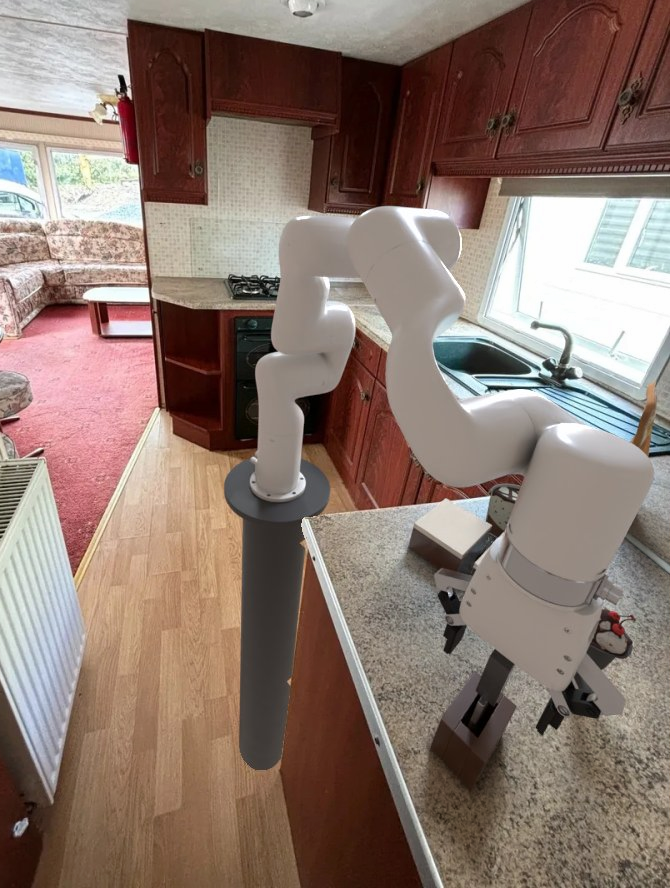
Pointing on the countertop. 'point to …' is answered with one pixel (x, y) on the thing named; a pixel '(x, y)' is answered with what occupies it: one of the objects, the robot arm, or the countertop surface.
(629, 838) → the countertop surface
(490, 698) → the knife
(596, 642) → the sundae
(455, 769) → the knife block
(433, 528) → the cake
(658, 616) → the countertop surface
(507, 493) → the ice cream dessert
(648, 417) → the pancake mix bag
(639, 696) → the countertop surface
